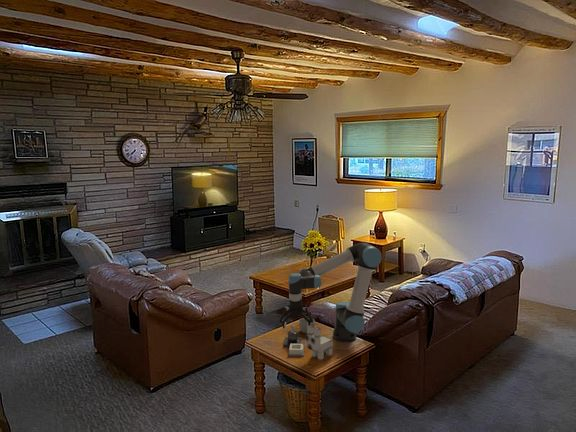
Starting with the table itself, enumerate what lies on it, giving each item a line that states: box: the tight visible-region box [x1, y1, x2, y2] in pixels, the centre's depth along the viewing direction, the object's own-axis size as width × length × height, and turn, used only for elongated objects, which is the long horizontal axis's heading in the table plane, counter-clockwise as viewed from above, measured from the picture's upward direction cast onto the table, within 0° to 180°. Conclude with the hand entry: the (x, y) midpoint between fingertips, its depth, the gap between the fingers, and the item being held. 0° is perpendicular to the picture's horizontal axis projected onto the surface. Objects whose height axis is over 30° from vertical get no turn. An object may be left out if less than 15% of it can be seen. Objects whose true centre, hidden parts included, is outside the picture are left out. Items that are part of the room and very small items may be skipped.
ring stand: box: [283, 324, 303, 348], centre depth 271 cm, size 11×11×12 cm
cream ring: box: [288, 343, 304, 356], centre depth 259 cm, size 8×8×3 cm
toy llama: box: [304, 325, 333, 362], centre depth 252 cm, size 8×18×20 cm, turn 131°
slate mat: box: [288, 347, 305, 357], centre depth 259 cm, size 9×10×1 cm
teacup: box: [298, 317, 316, 334], centre depth 289 cm, size 14×11×8 cm
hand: (296, 333), depth 257 cm, fingers open, 13 cm apart
